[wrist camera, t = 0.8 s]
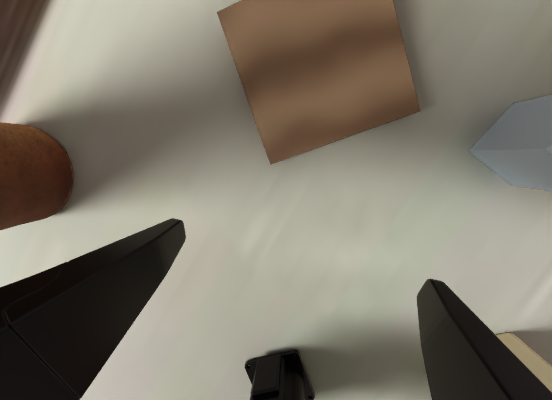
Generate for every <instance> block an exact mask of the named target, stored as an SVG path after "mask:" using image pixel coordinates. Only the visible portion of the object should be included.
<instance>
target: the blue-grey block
mask: <svg viewBox="0 0 552 400" xmlns="http://www.w3.org/2000/svg"><path fill="white" fill-rule="evenodd" d="M468 151H469V152H470V153H472V154H473V155H474V156H475V157H476V158H478V159H479V160H480V161H481V162H483V163H484V164H485V165H486V166H487V167H489V168H490V169H491V170H492V171H494V172H495V173H496V174H497V175H498V176H500V177H501V178H502V179H503V180H505V181H506V182H507V183H508V184H509V185H514V186H520V187H527V188H534V189H541V190H548V191H552V94H551V95H547V96H542V97H538V98H534V99H530V100H526V101H521V102H517V103H513V104H512V105H511V106H510V107H509V108H508V109H507V111H506V112H505V113H504V114H503V115H502V116H501V117H500V118H499V119H498V120H497V121H496V122H495V123H494V124H493V125H492V126H491V127H490V128H489V129H488V131H487V132H486V133H485V134H484V135H483V136H482V137H481V138H480V139H479V140H478V141H477V142H476V143H475V144H474V145H473V146H472V147H471V148H470V149H469V150H468Z"/></svg>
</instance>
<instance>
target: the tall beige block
mask: <svg viewBox="0 0 552 400" xmlns="http://www.w3.org/2000/svg"><path fill="white" fill-rule="evenodd" d="M496 336H497V337H498V338H499V339H500V340H501V341H502V342H503V343H504V344H505V345H506V346H507V347H508V348H509V349H510V350H511V351H512V352H513V353H514V354H515V355H516V356H517V357H518V359H519V360H520V361H521V362H522V363H523V364H524V365H525V366H526V367H527V368H528V369H529V370H530V371H531V372H532V373H533V374H534V375H535V376H536V377H537V378H538V379H539V380H540V381H541V382H542V383H543V384H544V385H545V386H546V387H547V388H548V389H549V390H550V391H551V392H552V366H551V365H550V364H549V363H548V362H546V361H545V360H544V359H543V358H542V357H540V356H539V355H538V354H537V353H536V352H535V351H533V350H532V349H531V348H530V347H529V346H527V345H526V344H525V343H524V342H523V341H522V340H520V339H519V338H518V337H517V336H515V335H514V334H512V333H504V334H498V335H496Z"/></svg>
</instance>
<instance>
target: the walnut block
mask: <svg viewBox="0 0 552 400" xmlns="http://www.w3.org/2000/svg"><path fill="white" fill-rule="evenodd" d="M217 14H218V17H219V19H220V22H221V25H222V28H223V31H224V34H225V36H226V39H227V42H228V45H229V48H230V51H231V54H232V56H233V59H234V62H235V65H236V68H237V71H238V73H239V76H240V79H241V82H242V85H243V88H244V90H245V93H246V96H247V99H248V102H249V105H250V107H251V110H252V113H253V116H254V119H255V122H256V125H257V127H258V130H259V133H260V136H261V139H262V142H263V144H264V147H265V150H266V153H267V156H268V159H269V161H270V164H273V163H276V162H279V161H281V160H284V159H287V158H290V157H293V156H295V155H298V154H301V153H304V152H307V151H309V150H312V149H315V148H318V147H321V146H323V145H326V144H329V143H332V142H335V141H337V140H340V139H343V138H346V137H349V136H351V135H354V134H357V133H360V132H363V131H366V130H368V129H371V128H374V127H377V126H380V125H382V124H385V123H388V122H391V121H394V120H396V119H399V118H402V117H405V116H408V115H410V114H413V113H416V112H419V111H420V108H419V104H418V100H417V96H416V92H415V88H414V84H413V80H412V76H411V72H410V68H409V64H408V60H407V56H406V52H405V48H404V44H403V40H402V35H401V31H400V27H399V23H398V19H397V15H396V11H395V7H394V3H393V0H242V1H239V2H237V3H235V4H233V5H231V6H229V7H227V8H225V9H223V10H221V11H218V12H217Z"/></svg>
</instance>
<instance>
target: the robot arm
mask: <svg viewBox="0 0 552 400" xmlns="http://www.w3.org/2000/svg"><path fill="white" fill-rule="evenodd" d="M185 238H186V235H185V229H184V223H183V221H181V220H178V219H173V218H172V219H169V220H167V221H164V222H162V223H159V224H157V225H155V226H152V227H150V228H147V229H145V230H143V231H140V232H138V233H135V234H133V235H131V236H128V237H126V238H123V239H121V240H118V241H116V242H114V243H111V244H109V245H106V246H104V247H102V248H99V249H97V250H94V251H92V252H89V253H87V254H85V255H82V256H80V257H77V258H75V259H72V260H70V261H69V262H65V263H63V264H60V265H58V266H56V267H53V268H51V269H48V270H46V271H43V272H41V273H38V274H36V275H33V276H30V277H28V278H25V279H22V280H20V281H17V282H14V283H11V284H9V285H6V286H3V287H0V400H80V398H81V397H82V396H83V395H84V393H85V392H86V390H87V389H88V387H89V386H90V384H91V383H92V382H93V380H94V379H95V377H96V376H97V374H98V373H99V371H100V370H101V369H102V367H103V366H104V364H105V363H106V361H107V360H108V358H109V357H110V356H111V354H112V353H113V351H114V350H115V348H116V347H117V345H118V344H119V343H120V341H121V340H122V338H123V337H124V335H125V334H126V332H127V331H128V330H129V328H130V327H131V325H132V324H133V322H134V321H135V319H136V318H137V317H138V315H139V314H140V312H141V311H142V309H143V308H144V306H145V305H146V304H147V302H148V301H149V299H150V298H151V296H152V295H153V293H154V292H155V291H156V289H157V288H158V286H159V285H160V283H161V282H162V280H163V279H164V277H165V276H166V274H167V273H168V271H169V269H170V267H171V266H172V264H173V262H174V260H175V258H176V256H177V255H178V253H179V251H180V249H181V247H182V246H183V244H184V242H185ZM417 307H418V318H419V329H420V340H421V347H422V353H423V358H424V363H425V368H426V373H427V377H428V382H429V387H430V392H431V397H432V400H552V392H551V391H550V390H549V389H548V388H547V387H546V386H545V385H544V384H543V383H542V382H541V381H540V380H539V379H538V378H537V377H536V376H535V375H534V374H533V373H532V372H531V371H530V370H529V369H528V368H527V367H526V366H525V365H524V364H523V363H522V362H521V361H520V360H519V359H518V357H517V356H516V355H515V354H514V353H513V352H512V351H511V350H510V349H509V348H508V347H507V346H506V345H505V344H504V343H503V342H502V341H501V340H500V339H499V338H498V337H497V336H496V335H495V334H494V333H493V332H492V331H491V330H490V329H489V328H488V327H487V326H486V325H485V324H484V323H483V322H482V321H481V320H480V319H479V318H478V317H477V316H476V315H475V314H474V313H473V312H472V311H471V310H470V309H469V308H468V307H467V306H466V305H465V304H464V303H463V302H462V300H461V299H460V298H459V297H458V296H457V295H456V294H455V293H454V292H453V291H452V290H451V289H450V288H449V287H448V286H447V285H446V284H445V283H444V282H442V281H439V280H434V279H428V280H427V281H426V282H425V283H424V285H423V287H422V288H421V290H420V291H419V293H418V295H417ZM294 355H296V356H294ZM248 365H250V366H248ZM245 369H246V372H247V374H248V376H249V379H250V381H251V383H252V389H251V397H250V400H314V398H315V395H314V391H313V388H312V386H311V383H310V380H309V378H308V375H307V373H306V370H305V367H304V365H303V362H302V359H301V357H300V354H299V352H298V351H296V350H292V351H288V352H283V353H279V354H275V355H270V356H266V357H262V358H257V359H253V360H248V361H246V363H245ZM309 395H311V396H309Z"/></svg>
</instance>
